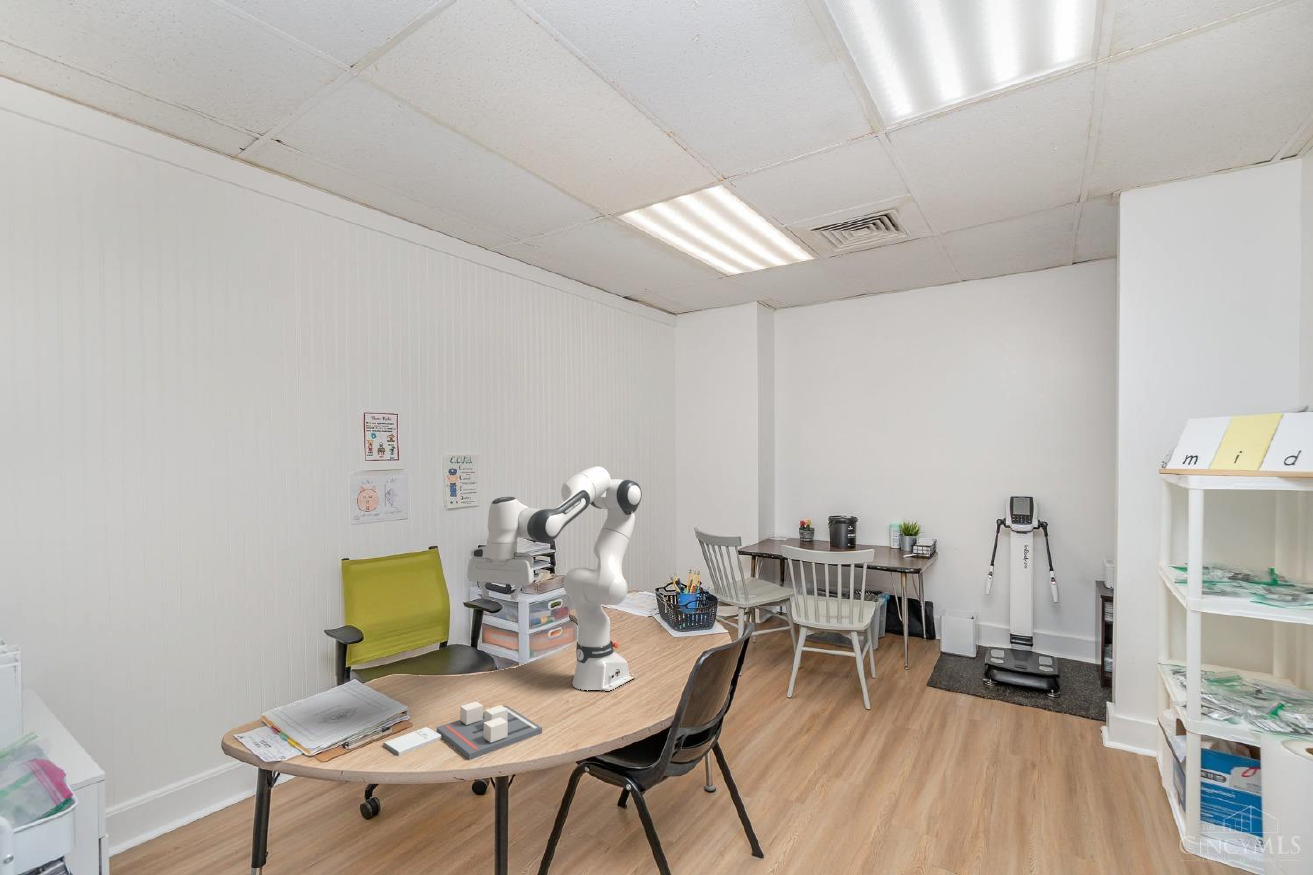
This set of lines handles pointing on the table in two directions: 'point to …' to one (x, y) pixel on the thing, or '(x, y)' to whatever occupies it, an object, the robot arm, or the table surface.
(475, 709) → the block
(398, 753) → the external hard drive
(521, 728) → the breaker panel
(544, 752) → the table surface
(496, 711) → the block
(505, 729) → the block
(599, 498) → the robot arm
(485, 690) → the table surface
